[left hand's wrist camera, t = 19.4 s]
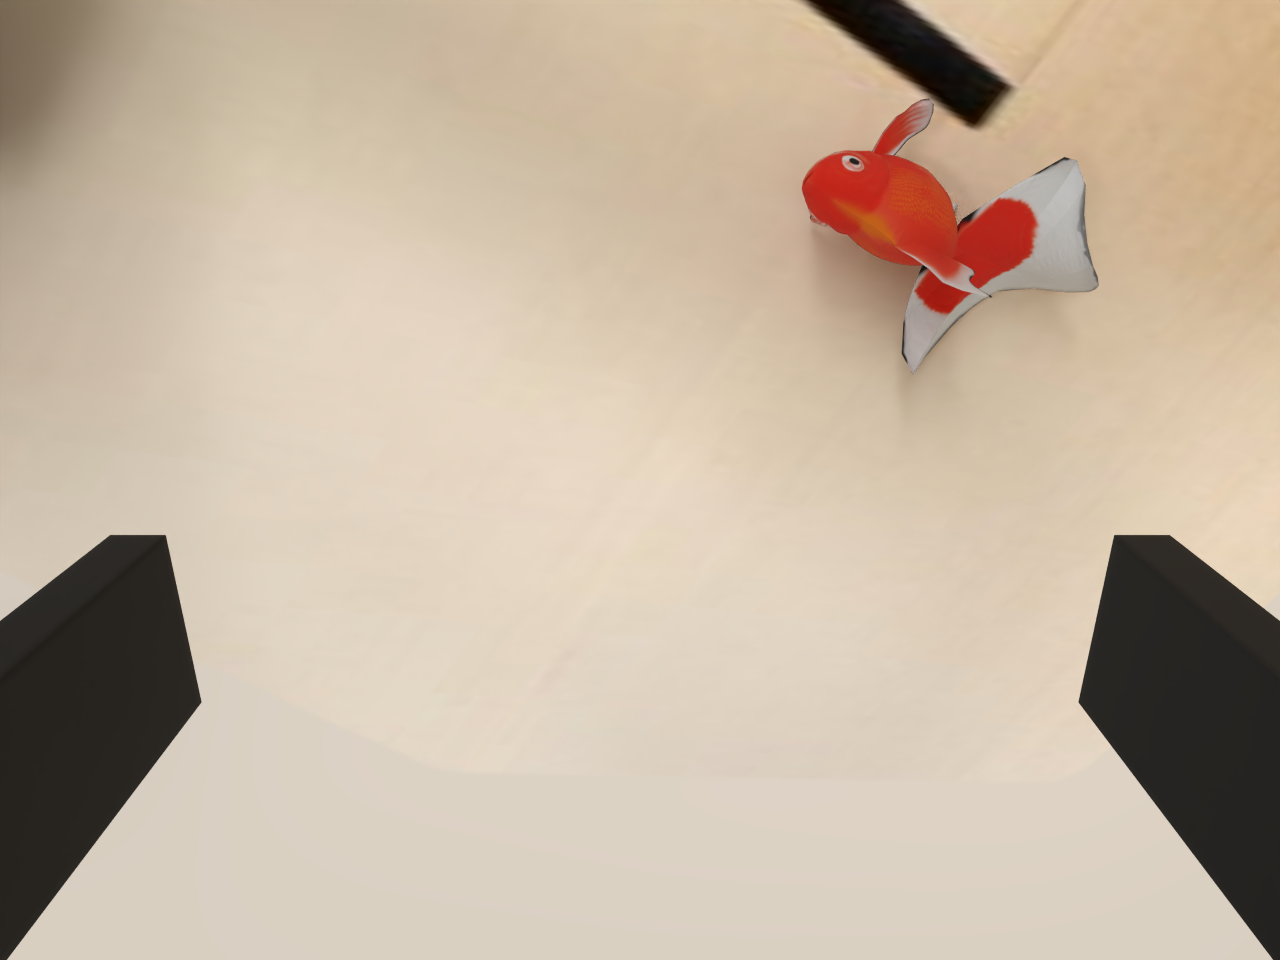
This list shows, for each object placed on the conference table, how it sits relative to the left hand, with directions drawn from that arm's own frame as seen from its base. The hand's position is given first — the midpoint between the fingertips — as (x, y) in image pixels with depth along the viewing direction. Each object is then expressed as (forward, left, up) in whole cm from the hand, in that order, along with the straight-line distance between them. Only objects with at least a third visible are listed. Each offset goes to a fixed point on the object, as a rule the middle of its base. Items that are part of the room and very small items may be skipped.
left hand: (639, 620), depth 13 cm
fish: (+14, -4, -36) cm, 39 cm away
